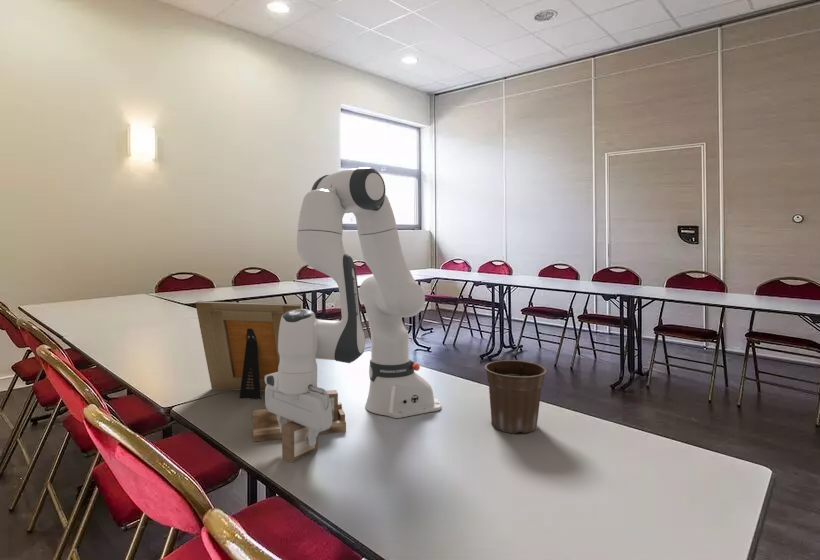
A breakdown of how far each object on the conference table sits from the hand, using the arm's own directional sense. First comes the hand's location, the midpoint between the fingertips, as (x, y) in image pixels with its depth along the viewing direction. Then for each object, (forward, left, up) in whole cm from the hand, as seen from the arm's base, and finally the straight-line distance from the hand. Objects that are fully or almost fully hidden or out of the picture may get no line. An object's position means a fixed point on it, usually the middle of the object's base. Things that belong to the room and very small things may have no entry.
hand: (297, 438), depth 112 cm
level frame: (-7, -14, -2) cm, 16 cm away
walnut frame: (-1, 0, -4) cm, 4 cm away
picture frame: (+10, -45, -4) cm, 46 cm away
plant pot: (-58, -2, -4) cm, 58 cm away
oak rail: (-2, -14, -4) cm, 14 cm away
